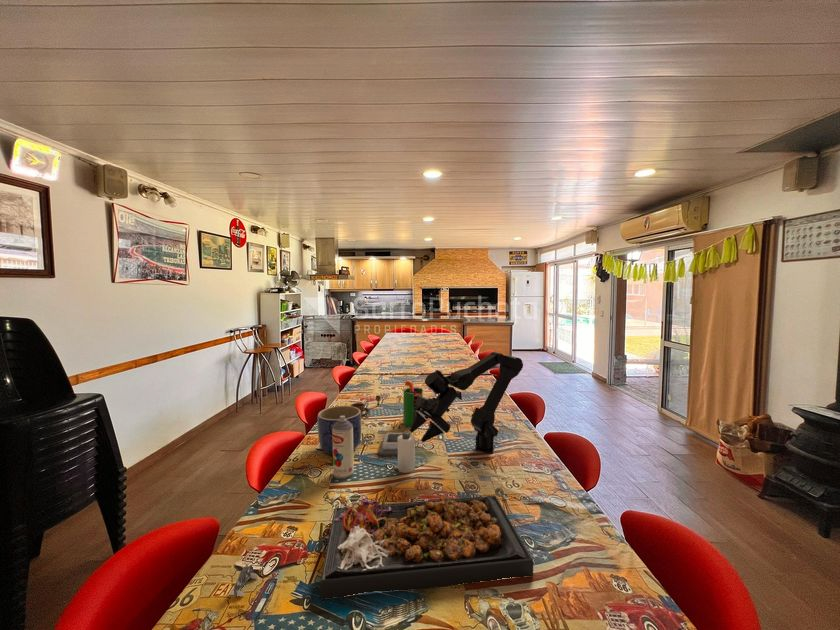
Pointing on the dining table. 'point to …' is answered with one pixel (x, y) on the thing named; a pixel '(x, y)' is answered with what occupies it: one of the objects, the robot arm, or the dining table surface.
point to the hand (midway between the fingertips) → (416, 436)
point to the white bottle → (406, 452)
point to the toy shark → (247, 577)
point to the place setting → (362, 406)
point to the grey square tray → (390, 445)
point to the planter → (331, 417)
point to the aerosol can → (343, 449)
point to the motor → (410, 403)
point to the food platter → (420, 546)
